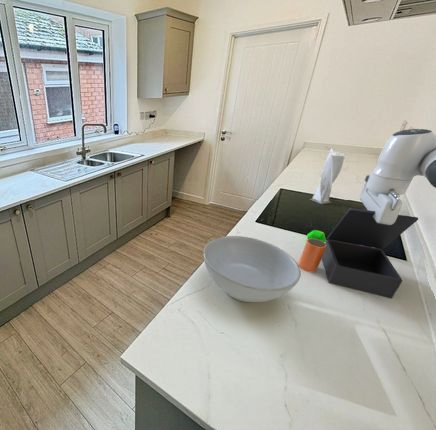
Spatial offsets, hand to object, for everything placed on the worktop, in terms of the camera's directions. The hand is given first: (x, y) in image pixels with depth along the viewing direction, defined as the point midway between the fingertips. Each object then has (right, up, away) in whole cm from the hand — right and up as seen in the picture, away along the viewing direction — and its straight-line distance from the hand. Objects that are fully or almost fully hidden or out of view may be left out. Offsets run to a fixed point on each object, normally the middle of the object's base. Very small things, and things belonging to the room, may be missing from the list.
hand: (368, 224), depth 86 cm
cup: (-15, -16, +8) cm, 23 cm away
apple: (0, -9, +22) cm, 24 cm away
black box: (-2, -18, +4) cm, 19 cm away
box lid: (-1, -2, 0) cm, 2 cm away
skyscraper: (+30, +11, +59) cm, 67 cm away
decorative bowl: (-42, -21, 0) cm, 47 cm away
